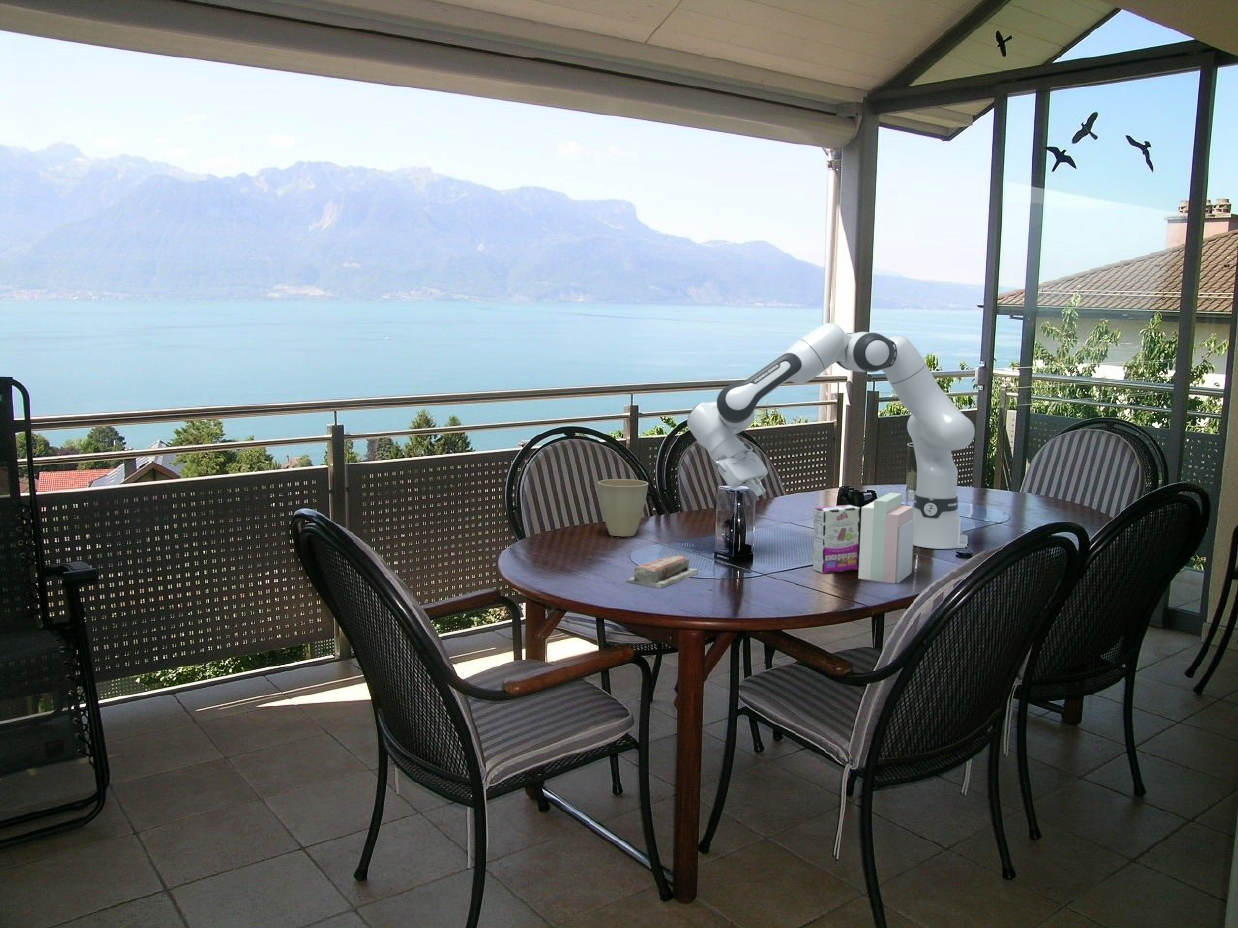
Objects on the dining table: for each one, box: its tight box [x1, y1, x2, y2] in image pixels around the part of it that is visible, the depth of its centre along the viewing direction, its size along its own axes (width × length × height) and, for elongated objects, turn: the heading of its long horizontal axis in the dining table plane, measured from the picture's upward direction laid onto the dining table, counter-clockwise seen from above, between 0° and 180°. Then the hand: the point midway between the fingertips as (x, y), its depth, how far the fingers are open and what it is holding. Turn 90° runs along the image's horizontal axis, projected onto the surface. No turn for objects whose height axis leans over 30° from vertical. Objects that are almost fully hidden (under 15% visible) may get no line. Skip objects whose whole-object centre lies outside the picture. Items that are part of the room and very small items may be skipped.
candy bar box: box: [812, 504, 861, 575], centre depth 247 cm, size 11×5×16 cm, turn 114°
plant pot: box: [597, 478, 649, 537], centre depth 287 cm, size 15×15×16 cm
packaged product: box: [626, 555, 699, 589], centre depth 238 cm, size 18×5×10 cm
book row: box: [857, 492, 914, 585], centre depth 242 cm, size 14×10×20 cm
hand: (762, 494), depth 259 cm, fingers closed
